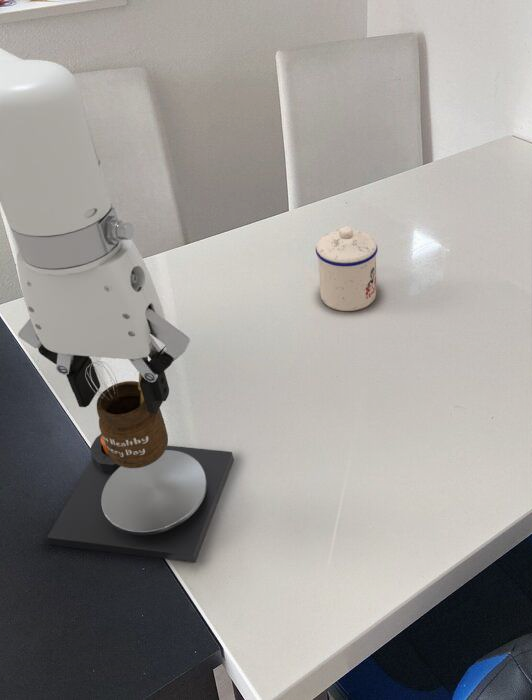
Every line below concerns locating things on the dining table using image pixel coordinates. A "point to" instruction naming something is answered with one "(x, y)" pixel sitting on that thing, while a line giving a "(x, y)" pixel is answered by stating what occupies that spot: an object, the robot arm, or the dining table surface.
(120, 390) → the utensil holder
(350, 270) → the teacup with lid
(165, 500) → the brushed metal disc
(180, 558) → the scale
